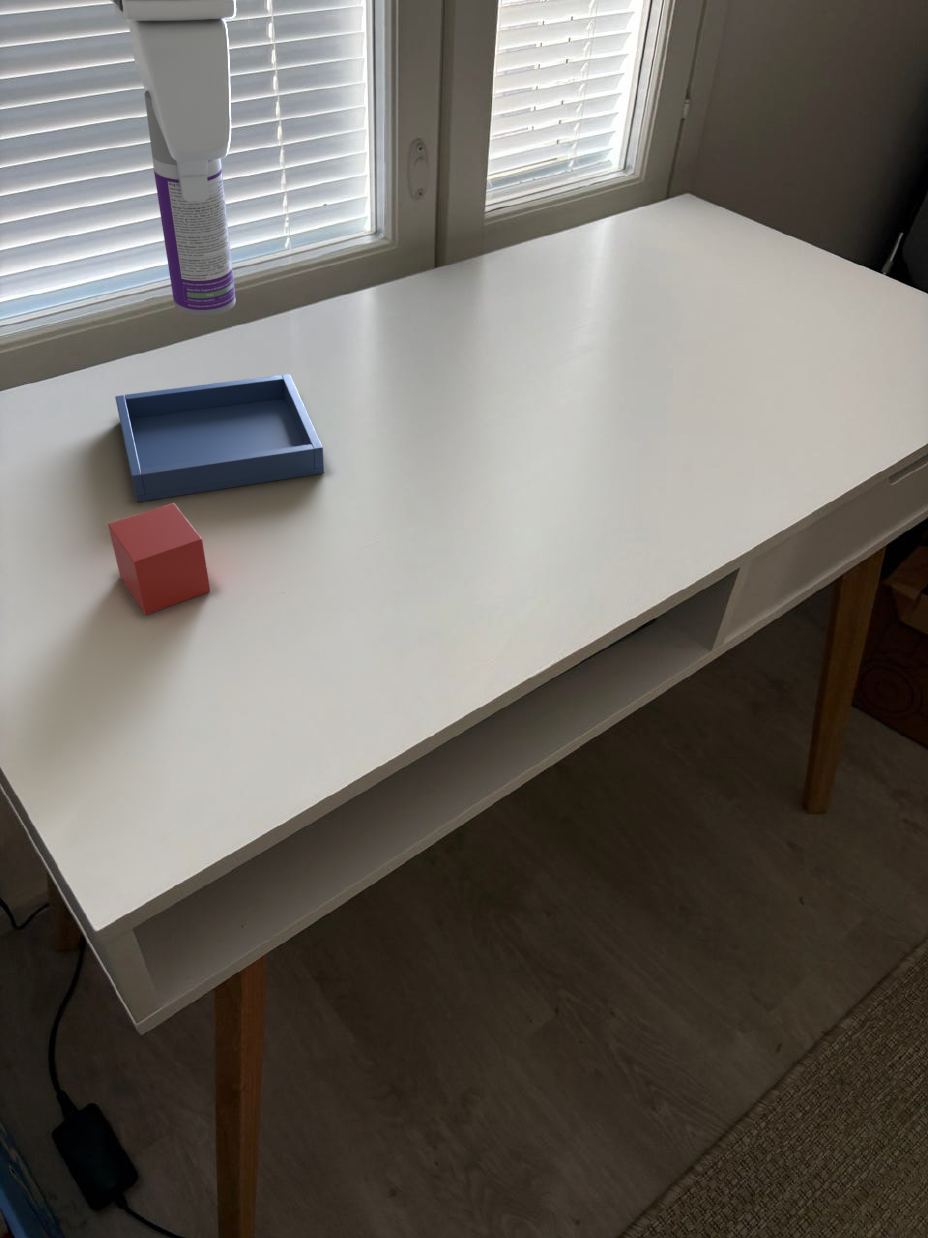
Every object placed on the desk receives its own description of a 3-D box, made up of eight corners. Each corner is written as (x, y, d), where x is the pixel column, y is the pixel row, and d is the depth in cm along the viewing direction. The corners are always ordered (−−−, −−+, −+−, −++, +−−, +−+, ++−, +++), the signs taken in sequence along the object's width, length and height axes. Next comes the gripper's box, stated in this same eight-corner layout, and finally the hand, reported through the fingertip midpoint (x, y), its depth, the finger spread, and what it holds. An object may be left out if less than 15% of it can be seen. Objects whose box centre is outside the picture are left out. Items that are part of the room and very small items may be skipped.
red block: (145, 615, 73) (134, 562, 69) (119, 576, 76) (107, 523, 72) (210, 591, 75) (202, 538, 71) (182, 554, 78) (173, 502, 74)
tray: (136, 502, 82) (131, 476, 80) (120, 421, 91) (114, 395, 89) (324, 473, 87) (323, 447, 85) (291, 398, 95) (289, 373, 93)
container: (175, 289, 80) (144, 82, 69) (235, 288, 80) (213, 82, 70) (173, 317, 76) (140, 103, 66) (236, 315, 77) (213, 103, 67)
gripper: (91, -78, 69) (127, 136, 78) (123, -6, 55) (162, 243, 64) (185, -78, 71) (209, 131, 80) (239, -8, 57) (260, 234, 66)
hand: (188, 182), depth 72 cm, fingers closed on container, 4 cm apart
